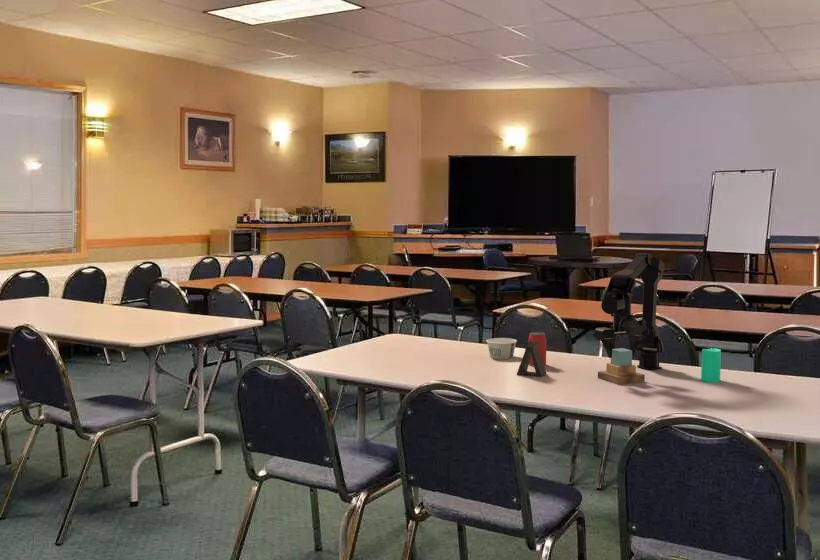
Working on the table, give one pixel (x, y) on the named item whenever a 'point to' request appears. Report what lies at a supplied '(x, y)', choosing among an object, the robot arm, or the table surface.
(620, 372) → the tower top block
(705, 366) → the candle
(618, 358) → the teal cube
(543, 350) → the beer can
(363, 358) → the table surface
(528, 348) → the dark grey a-shaped piece
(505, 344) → the food container
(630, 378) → the tower base block
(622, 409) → the table surface
